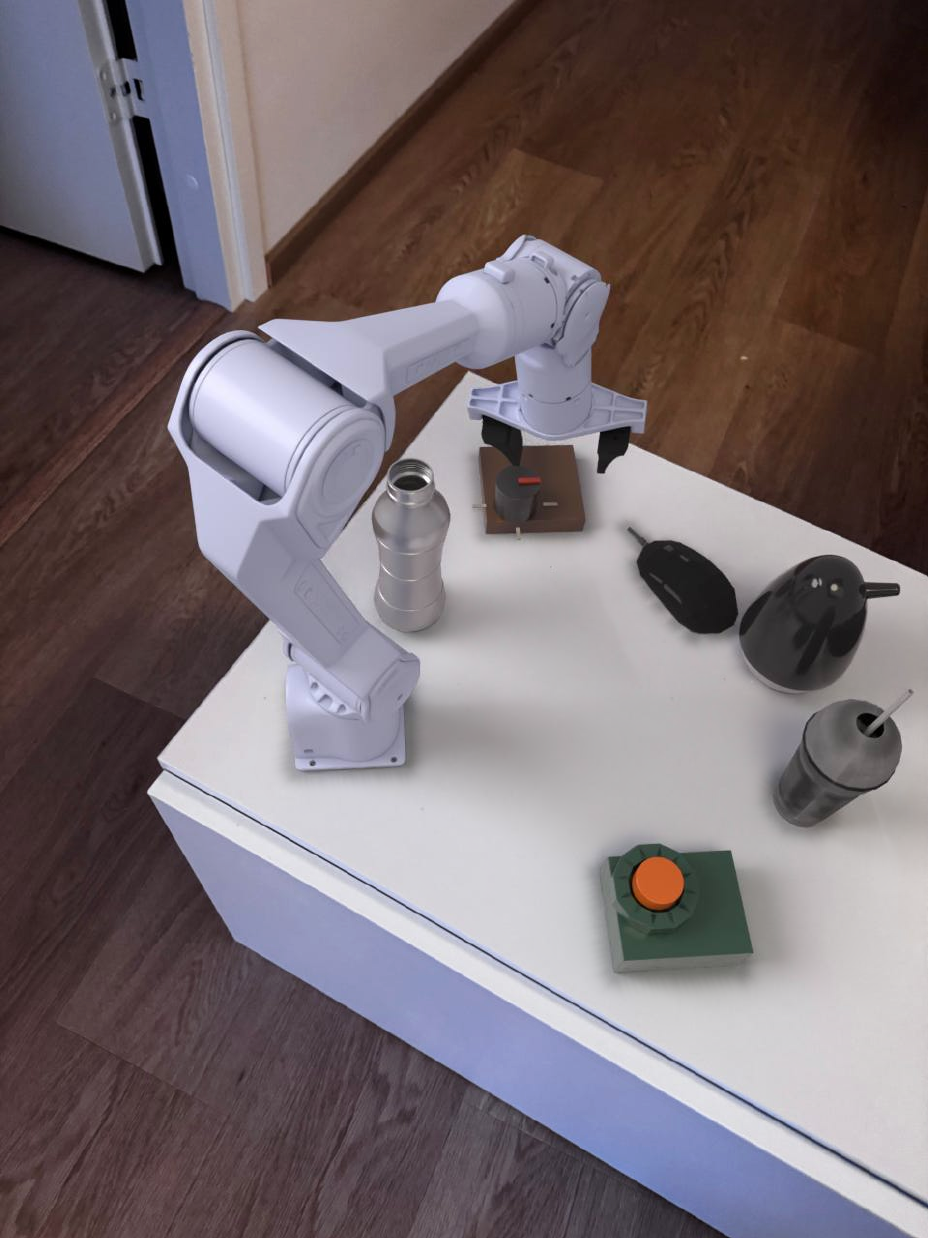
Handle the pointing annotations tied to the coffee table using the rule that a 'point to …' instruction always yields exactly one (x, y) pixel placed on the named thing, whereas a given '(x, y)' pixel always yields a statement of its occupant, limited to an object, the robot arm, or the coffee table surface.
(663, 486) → the coffee table surface
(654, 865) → the button
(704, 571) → the gaming mouse
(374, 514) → the metal bottle
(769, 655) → the black bird figure
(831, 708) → the beverage cup
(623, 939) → the button box
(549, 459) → the control panel
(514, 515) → the knob
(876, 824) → the coffee table surface
